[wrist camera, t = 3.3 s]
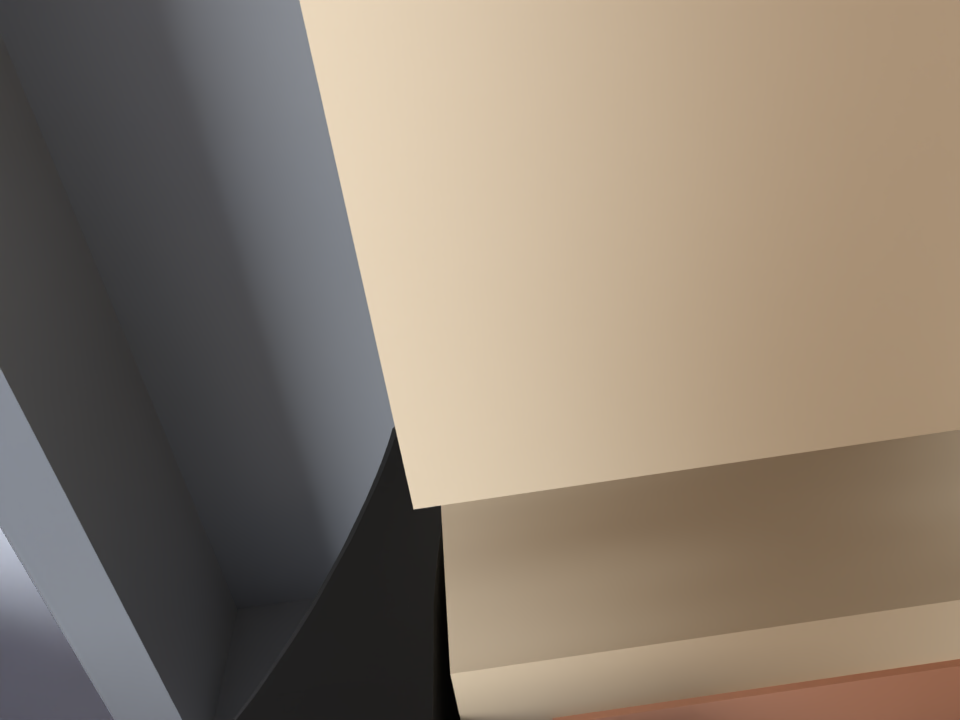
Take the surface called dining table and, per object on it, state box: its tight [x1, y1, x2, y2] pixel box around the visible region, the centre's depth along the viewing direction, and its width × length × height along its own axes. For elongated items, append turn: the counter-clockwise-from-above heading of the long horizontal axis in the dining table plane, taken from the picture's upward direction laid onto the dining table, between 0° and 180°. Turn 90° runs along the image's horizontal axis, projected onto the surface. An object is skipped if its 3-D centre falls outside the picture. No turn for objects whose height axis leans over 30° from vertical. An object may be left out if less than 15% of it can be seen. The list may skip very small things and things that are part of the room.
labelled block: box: [441, 430, 960, 720], centre depth 9 cm, size 5×5×6 cm
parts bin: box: [0, 0, 395, 720], centre depth 9 cm, size 14×14×3 cm
